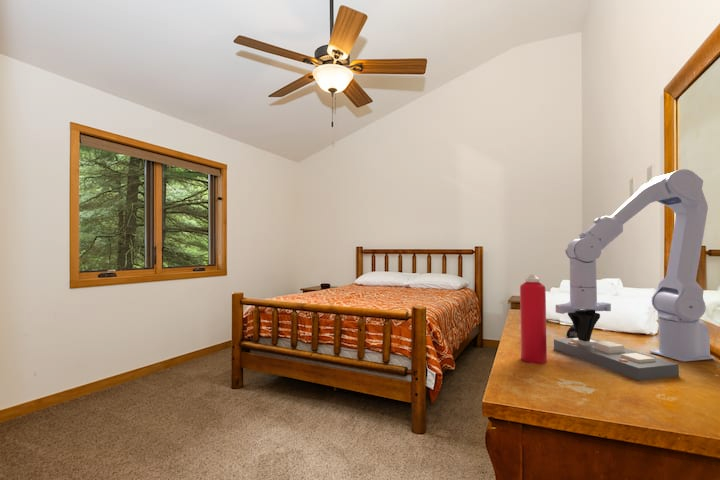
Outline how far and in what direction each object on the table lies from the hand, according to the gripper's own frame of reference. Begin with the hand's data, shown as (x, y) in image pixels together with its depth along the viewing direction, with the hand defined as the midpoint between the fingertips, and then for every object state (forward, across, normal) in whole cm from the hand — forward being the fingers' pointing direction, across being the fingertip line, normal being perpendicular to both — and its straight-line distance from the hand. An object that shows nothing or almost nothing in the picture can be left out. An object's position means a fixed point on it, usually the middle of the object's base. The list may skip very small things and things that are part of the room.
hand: (583, 341), depth 92 cm
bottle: (+3, +16, +2) cm, 16 cm away
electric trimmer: (+3, -14, -18) cm, 23 cm away
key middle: (+3, 0, +7) cm, 8 cm away
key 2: (+4, 0, +14) cm, 14 cm away
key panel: (+3, 0, +7) cm, 8 cm away
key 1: (+4, 0, 0) cm, 4 cm away
